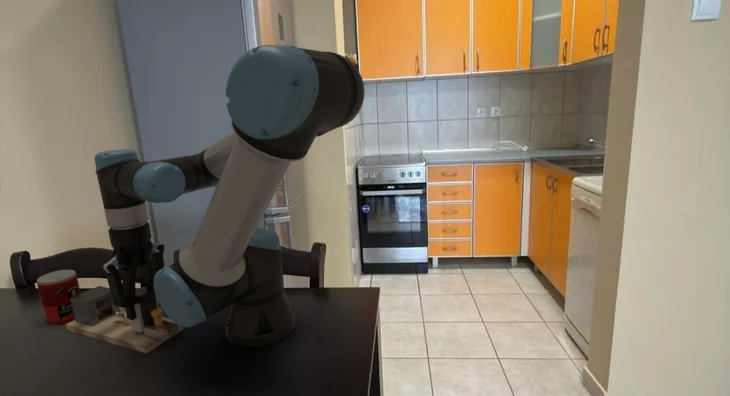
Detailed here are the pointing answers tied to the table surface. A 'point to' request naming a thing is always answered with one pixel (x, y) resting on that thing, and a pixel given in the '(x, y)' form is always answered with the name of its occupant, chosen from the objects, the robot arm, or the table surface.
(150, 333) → the two-pronged fork block
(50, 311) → the canned food
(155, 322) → the keeper post
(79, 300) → the block
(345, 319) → the table surface
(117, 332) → the rail board
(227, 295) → the robot arm
